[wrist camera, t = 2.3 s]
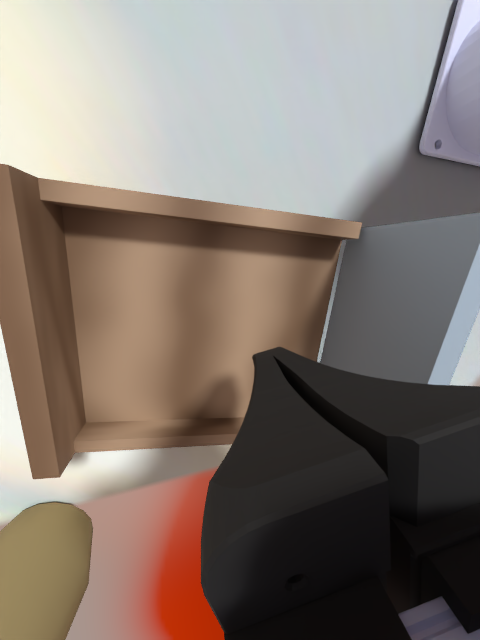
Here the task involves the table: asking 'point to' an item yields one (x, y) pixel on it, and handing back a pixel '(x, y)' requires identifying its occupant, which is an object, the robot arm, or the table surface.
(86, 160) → the table surface
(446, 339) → the panel
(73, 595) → the squeeze bottle
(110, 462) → the table surface
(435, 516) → the robot arm
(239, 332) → the tray
